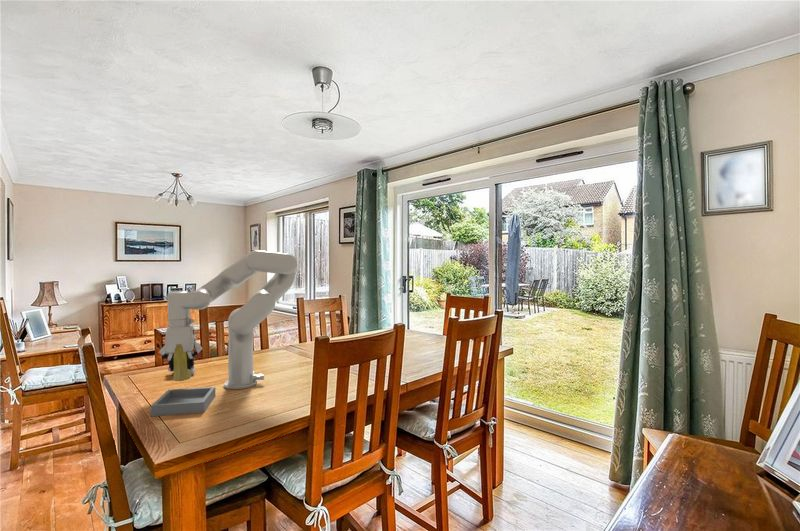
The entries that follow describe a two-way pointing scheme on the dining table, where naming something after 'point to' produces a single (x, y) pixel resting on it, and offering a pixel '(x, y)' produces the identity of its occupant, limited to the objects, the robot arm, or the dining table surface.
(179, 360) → the vase
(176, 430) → the dining table surface
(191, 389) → the tray
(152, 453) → the dining table surface
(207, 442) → the dining table surface
